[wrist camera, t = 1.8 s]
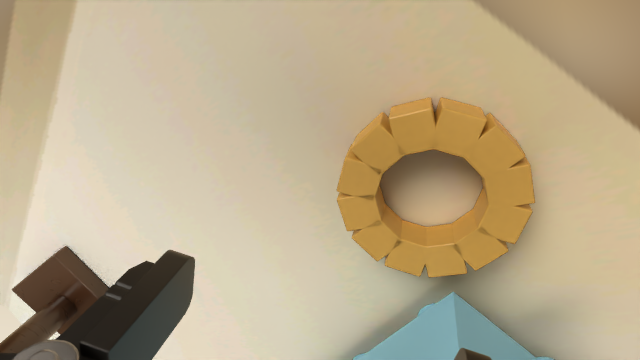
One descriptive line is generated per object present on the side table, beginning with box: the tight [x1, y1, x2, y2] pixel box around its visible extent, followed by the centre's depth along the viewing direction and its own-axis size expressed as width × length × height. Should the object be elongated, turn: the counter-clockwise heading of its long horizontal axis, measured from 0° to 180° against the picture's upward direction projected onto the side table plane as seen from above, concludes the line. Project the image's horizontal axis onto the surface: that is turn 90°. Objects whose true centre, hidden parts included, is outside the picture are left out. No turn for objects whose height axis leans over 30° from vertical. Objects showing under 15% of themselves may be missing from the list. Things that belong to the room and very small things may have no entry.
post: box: [0, 246, 109, 353], centre depth 27 cm, size 7×7×11 cm
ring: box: [337, 98, 535, 277], centre depth 21 cm, size 9×9×2 cm
